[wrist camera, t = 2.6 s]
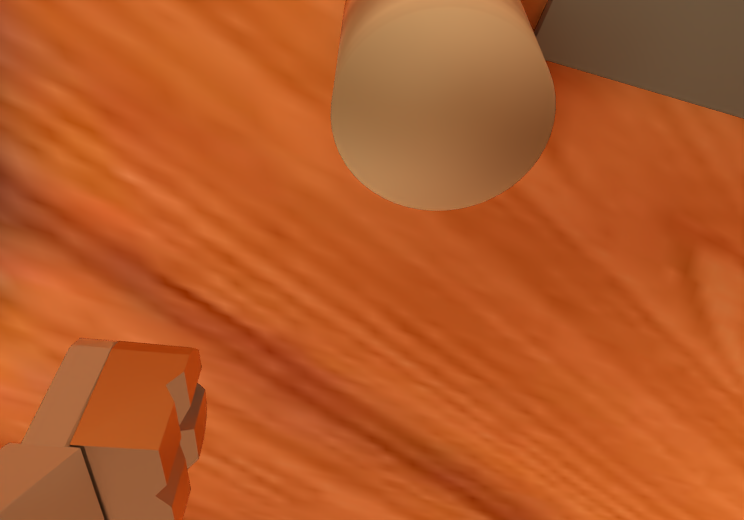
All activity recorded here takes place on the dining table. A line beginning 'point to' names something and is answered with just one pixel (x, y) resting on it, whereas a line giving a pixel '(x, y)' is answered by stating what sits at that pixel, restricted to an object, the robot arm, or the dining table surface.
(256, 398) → the dining table surface
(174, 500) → the robot arm
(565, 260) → the dining table surface
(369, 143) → the birch round
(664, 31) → the felt mat
